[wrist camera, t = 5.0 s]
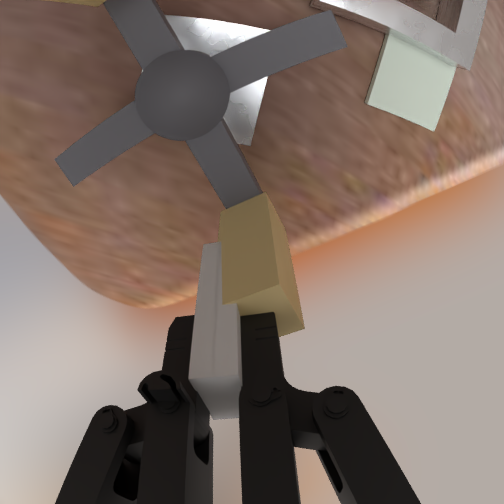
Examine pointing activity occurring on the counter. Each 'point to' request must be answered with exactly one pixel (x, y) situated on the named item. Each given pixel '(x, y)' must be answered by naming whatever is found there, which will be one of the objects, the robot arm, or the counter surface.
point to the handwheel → (210, 138)
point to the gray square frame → (420, 25)
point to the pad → (410, 83)
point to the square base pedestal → (213, 42)
